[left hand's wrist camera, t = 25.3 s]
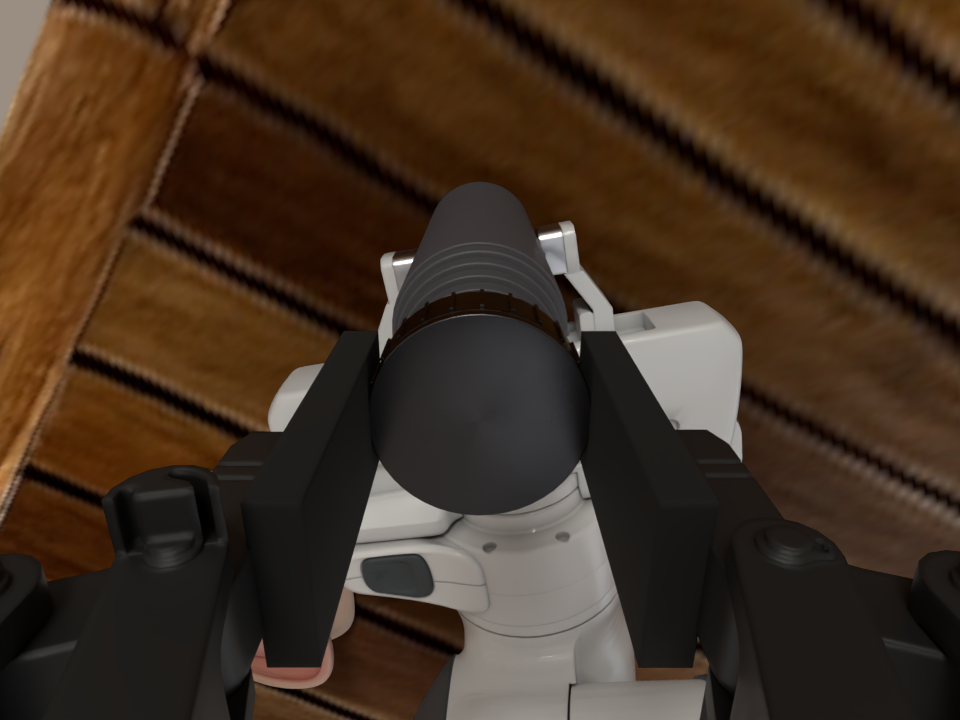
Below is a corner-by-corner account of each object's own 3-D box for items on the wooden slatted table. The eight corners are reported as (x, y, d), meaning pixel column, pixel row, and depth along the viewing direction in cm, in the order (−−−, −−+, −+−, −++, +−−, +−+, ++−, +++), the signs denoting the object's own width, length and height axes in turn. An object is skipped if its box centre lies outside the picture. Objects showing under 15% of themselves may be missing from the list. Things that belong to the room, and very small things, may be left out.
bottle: (447, 293, 33) (405, 530, 15) (416, 198, 31) (324, 332, 13) (540, 266, 33) (620, 477, 14) (515, 168, 31) (567, 263, 12)
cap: (360, 300, 14) (344, 325, 12) (576, 277, 13) (589, 299, 12) (394, 485, 15) (385, 527, 14) (587, 467, 15) (599, 507, 14)
